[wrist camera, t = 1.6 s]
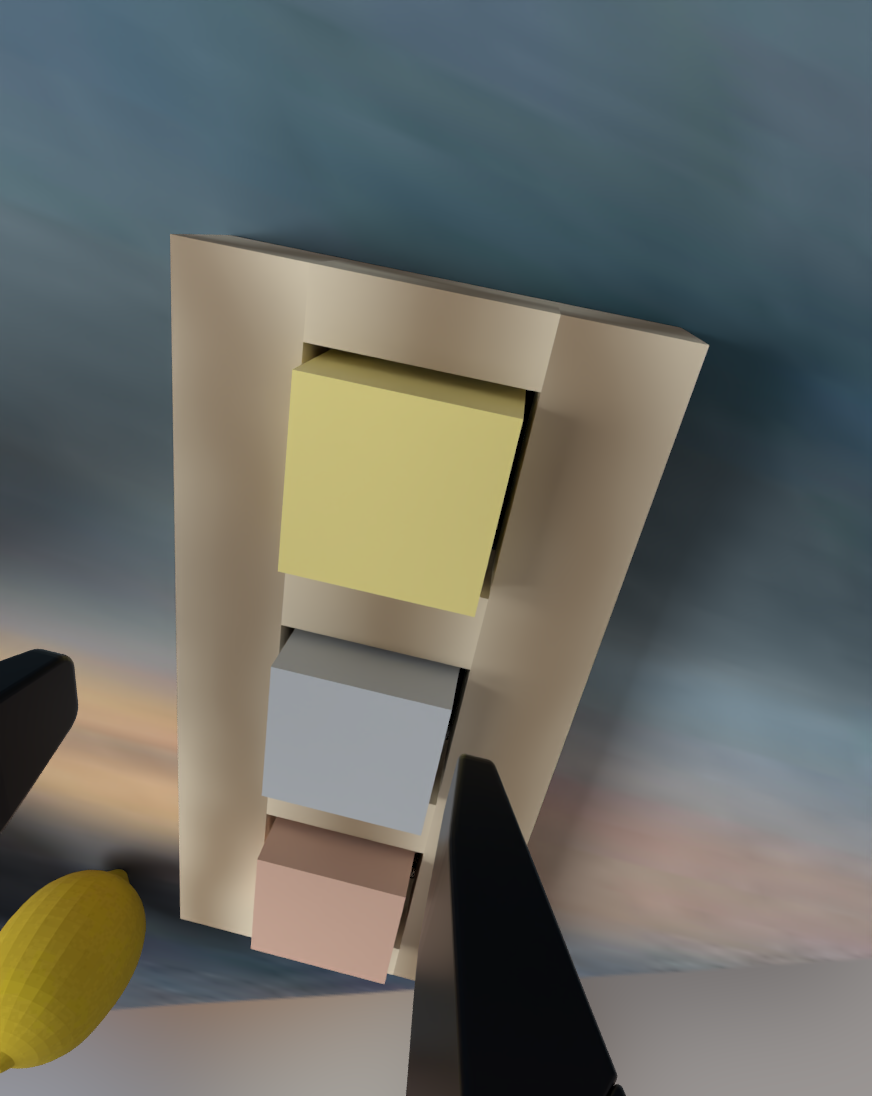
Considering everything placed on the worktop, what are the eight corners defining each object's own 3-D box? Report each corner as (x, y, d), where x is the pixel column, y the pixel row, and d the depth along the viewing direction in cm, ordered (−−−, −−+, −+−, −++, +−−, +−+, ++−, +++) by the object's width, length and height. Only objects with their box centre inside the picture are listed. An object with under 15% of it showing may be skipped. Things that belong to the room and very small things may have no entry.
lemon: (152, 829, 28) (20, 1030, 21) (194, 912, 30) (87, 1119, 23) (46, 829, 29) (-113, 1021, 22) (94, 909, 31) (-36, 1105, 24)
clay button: (281, 875, 26) (250, 948, 23) (289, 788, 23) (257, 859, 21) (400, 905, 25) (384, 984, 23) (420, 821, 23) (405, 897, 20)
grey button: (295, 728, 22) (261, 795, 19) (307, 608, 20) (271, 666, 17) (435, 762, 22) (420, 835, 19) (463, 645, 19) (451, 710, 17)
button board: (214, 853, 28) (180, 918, 25) (229, 234, 17) (170, 234, 14) (478, 922, 27) (472, 995, 25) (681, 327, 16) (709, 345, 13)
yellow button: (315, 523, 18) (277, 571, 16) (333, 347, 16) (291, 369, 13) (484, 561, 18) (474, 617, 15) (526, 389, 16) (523, 419, 13)
